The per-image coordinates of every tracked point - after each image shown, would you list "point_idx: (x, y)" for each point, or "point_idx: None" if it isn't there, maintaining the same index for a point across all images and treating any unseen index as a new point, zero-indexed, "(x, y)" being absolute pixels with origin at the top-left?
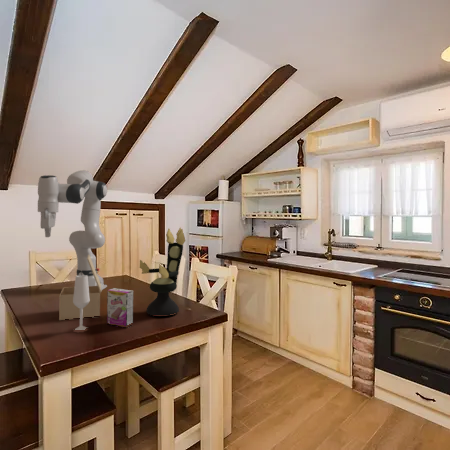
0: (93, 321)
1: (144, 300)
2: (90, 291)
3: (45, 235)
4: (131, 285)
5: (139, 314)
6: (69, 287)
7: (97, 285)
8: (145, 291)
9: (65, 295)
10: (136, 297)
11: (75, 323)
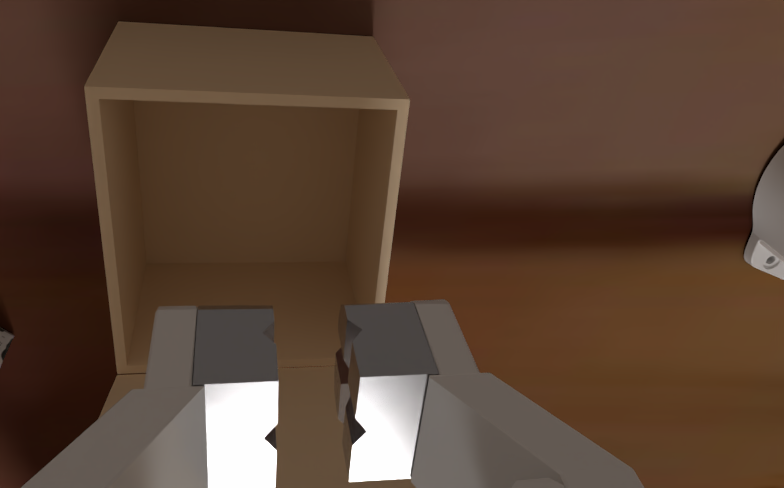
0: (46, 233)
1: None
2: (367, 280)
3: (151, 342)
4: (778, 422)
5: None
6: (396, 153)
7: (106, 402)
8: None
9: (90, 135)
10: None
11: (21, 130)
